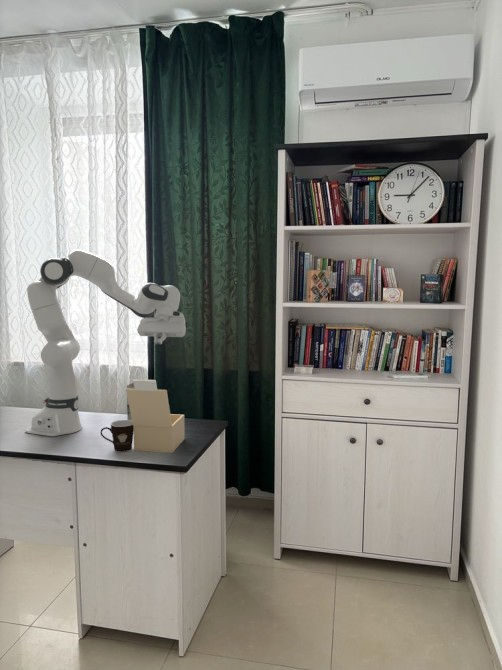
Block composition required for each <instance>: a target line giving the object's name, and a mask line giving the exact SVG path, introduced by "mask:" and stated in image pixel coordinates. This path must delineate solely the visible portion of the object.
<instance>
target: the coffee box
mask: <svg viewBox="0 0 502 670" xmlns="http://www.w3.org/2000/svg"><path fill="white" fill-rule="evenodd" d="M126 388H132V389H135V388H134V383H133V382H131V383H130V384H128V385H126ZM126 418H127V419H126V420H131V421H132V419H131V413H130V408H129V403H128V397H127V396H126Z"/></svg>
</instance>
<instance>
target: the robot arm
mask: <svg viewBox="0 0 502 670" xmlns="http://www.w3.org/2000/svg"><path fill="white" fill-rule="evenodd" d="M39 270H40V271H39V273H40V276H41V277H40V278H39V279H38V280H35V281H32V282H30V283H29V285H28V286H27V288H26V292H27V294H26V295H27V298H28V304H29V307H30V310H31V313H32V316H33V318H34V321H35V324H36V326H37V327H36V328H37V329H38V330H39V332H41V334H42V335H43V337H44V338H45V340H46V342H47V343H45V345H44V346H43V348H42V349H41V351H40V359H41V361H42V363H43V364H44V368H45V371H46V377H47V382H48V397H47V398H45V399H44V400H43V401H42V403H43V404H45V406H43V408H41V409H40V410H38V412H36V413H35V414H34V415H33V416H32V419H31V423H30V424H31V425H29V426H27V427H26V429H25V433H28V434H32V435H33V434H34V435H41V436H49V437H56V436H57V437H58V436H61V435H68V434H69V435H70V434H72V433H76V432H79V431H80V430H82V429H83V426H82V422H81V419H80V414H79V395H78V389H77V388H78V383H77V376H76V374H75V372H74V368H73V360H76V358H77V357H78V356H79V353H80V350H81V346H80V343H79V341H78V340H77V339H76V337H75V336H74V333H73V332H72V330H71V329H70V327H69V325H68V323H67V321H66V319H65V316H64V312H63V310H62V307H61V305H60V301H59V299H58V296H57V290H58V289H59V288H60V287H62V286H64V285H66V283H68V281H69V280H70V278H71V277H73V276H77V277H80V278H82V279H85V280H87V281H88V282H89V283H92V284H93V285H95V286H96V287H98V288H99V289H100V290H101V292H102V293H103V294H105V295H106V296H107V297H109V298H111V299H112V300H114V301H116V302H117V303H119V304H121V305H122V306H124V307H126V308H128V309H129V311H131V312H132V313H133V314H135V315H136V316H137V317H139V318H141V319H140V322H139V325H138V327H137V329H136V331H137V333H138V335H139V336H140V337H153V338H154V340H153V342H154V344H155V345H162V344H163V342H164V341H165V340H166V339H167V338H169V337H170V338H183V337H185V336H186V329H187V327H186V318H185V315H184V314H183V312H181V311H178V310H179V307H180V303H181V302H180V301H181V293H180V290H179V289H178V287H176V286H174V285H169V284H168V285H159V284H157V283H155V282H146V283H144V284H143V285H141V286H142V287H141V288H140V290H139V292H138V294H137V295H133V294H132V293H130V292H129V291H127V290H125V289H123V288H122V287H121V286H119V284H118V282H117V280H116V271H115V268H114V266H113V265H112V263H111V262H110V261H108V260H106V259H105V258H103V257H100V256H98V255H96V254H94V253H91V252H90V251H89V252H88V251H86V250H82V249H76V248H75V249H73V250H72V251H71V252H69V253H68V254H67V257H51V258H49V259H46V260H45V261H44V262H43V263H42V264H41V266H40V269H39ZM153 315H154V316H153Z"/></svg>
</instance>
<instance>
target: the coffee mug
mask: <svg viewBox="0 0 502 670" xmlns="http://www.w3.org/2000/svg"><path fill="white" fill-rule="evenodd" d="M104 430H108V431H109V432H110V433H111V435H112V440H111V439H110V438H108V437H106V436H104V435H103V431H104ZM100 436H101V437H102V438H104V440H107V441H109V443H111V444H112V445H113V448H114V449H113V450H114V451H115V452H118V453H124V452H129V451H131V450H132V448H133V442H134V430H133V424H132V420H127V419H120V420H115V421H112V422H110V427H107V426H105V427H103V428H101V430H100Z"/></svg>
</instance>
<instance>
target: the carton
mask: <svg viewBox="0 0 502 670" xmlns="http://www.w3.org/2000/svg"><path fill="white" fill-rule="evenodd" d="M170 415H171V422H172V427H154V426H136V425H133V451H137V452H138V451H141V452H155V453H174V452H175V450H176V449H177V448H178V447H179V446H180V445H181V444H182V442H184V441H185V438H186V437H185V434H186V433H185V432H186V431H185V430H186V429H185V414H179V413H178V414H175V413H174V414H173V413H170Z"/></svg>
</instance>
